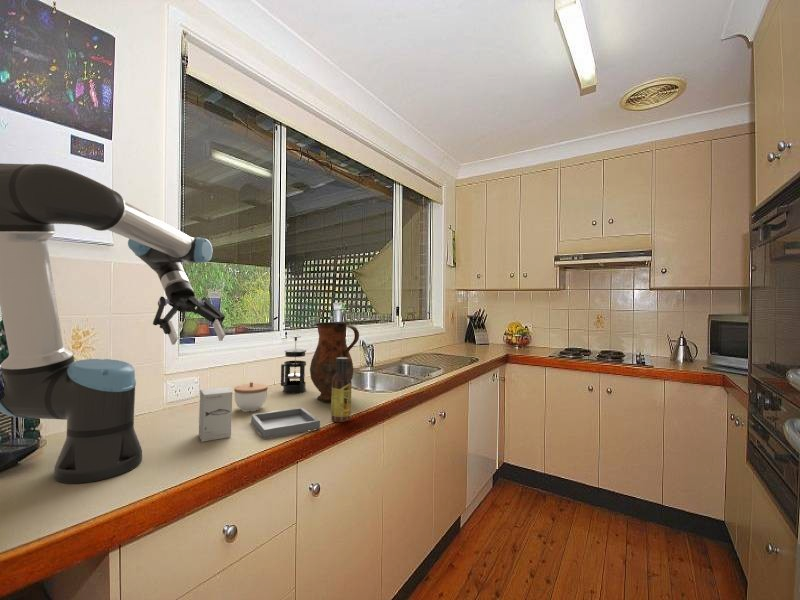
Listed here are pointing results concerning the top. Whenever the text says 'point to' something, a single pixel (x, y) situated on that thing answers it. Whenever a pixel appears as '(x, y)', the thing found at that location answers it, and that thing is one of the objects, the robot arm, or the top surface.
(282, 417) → the tray
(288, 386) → the french press
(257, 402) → the lidded jar
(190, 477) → the top surface
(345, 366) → the sauce bottle
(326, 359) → the pitcher
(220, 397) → the supplement box
